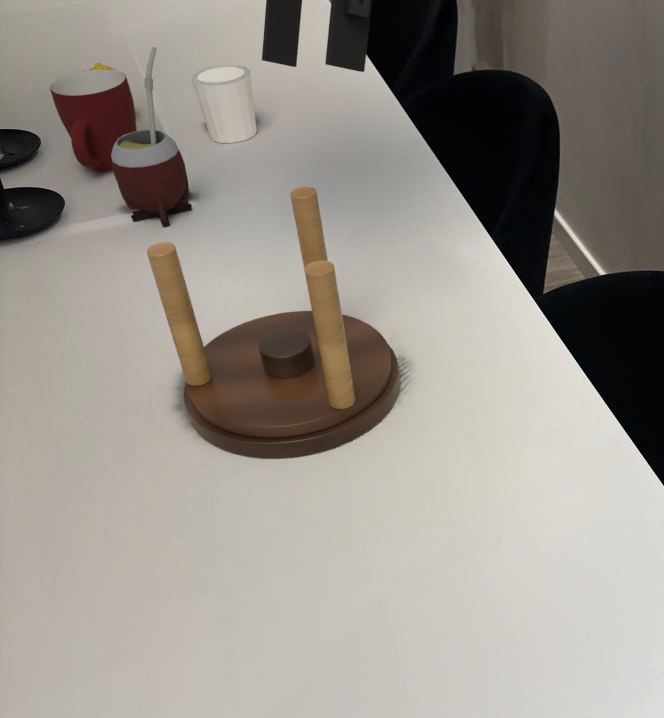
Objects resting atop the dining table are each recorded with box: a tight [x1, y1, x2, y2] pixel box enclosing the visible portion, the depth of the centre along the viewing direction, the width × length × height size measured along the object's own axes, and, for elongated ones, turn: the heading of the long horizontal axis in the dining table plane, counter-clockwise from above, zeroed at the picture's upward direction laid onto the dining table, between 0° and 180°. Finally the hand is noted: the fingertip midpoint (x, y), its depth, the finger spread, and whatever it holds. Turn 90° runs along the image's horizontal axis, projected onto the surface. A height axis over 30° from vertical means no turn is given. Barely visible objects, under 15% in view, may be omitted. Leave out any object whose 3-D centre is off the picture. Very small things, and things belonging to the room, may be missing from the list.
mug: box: [49, 69, 138, 172], centre depth 106 cm, size 10×8×10 cm
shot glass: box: [191, 64, 258, 144], centre depth 115 cm, size 7×7×7 cm
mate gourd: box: [111, 46, 193, 228], centre depth 97 cm, size 8×8×15 cm
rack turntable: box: [146, 185, 392, 438], centre depth 72 cm, size 16×16×12 cm
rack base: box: [183, 342, 401, 460], centre depth 77 cm, size 17×17×2 cm
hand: (309, 66), depth 74 cm, fingers open, 13 cm apart
